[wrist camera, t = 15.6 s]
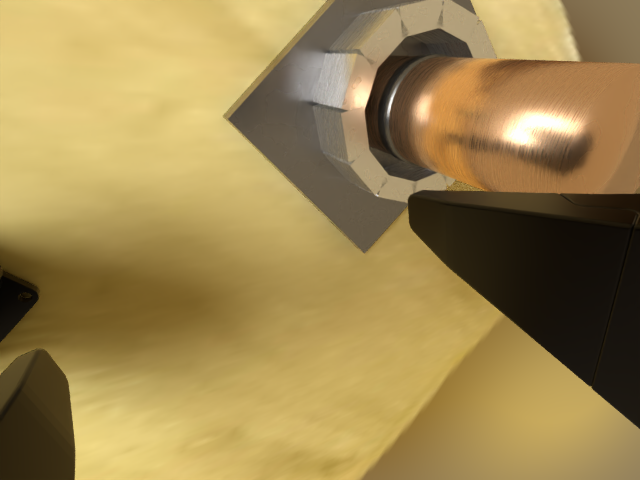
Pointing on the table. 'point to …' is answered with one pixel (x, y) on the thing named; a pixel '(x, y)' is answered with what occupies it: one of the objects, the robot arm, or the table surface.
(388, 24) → the plate
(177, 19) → the table surface
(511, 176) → the tan cylinder
